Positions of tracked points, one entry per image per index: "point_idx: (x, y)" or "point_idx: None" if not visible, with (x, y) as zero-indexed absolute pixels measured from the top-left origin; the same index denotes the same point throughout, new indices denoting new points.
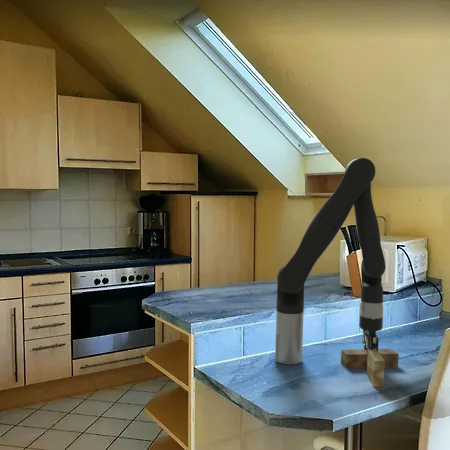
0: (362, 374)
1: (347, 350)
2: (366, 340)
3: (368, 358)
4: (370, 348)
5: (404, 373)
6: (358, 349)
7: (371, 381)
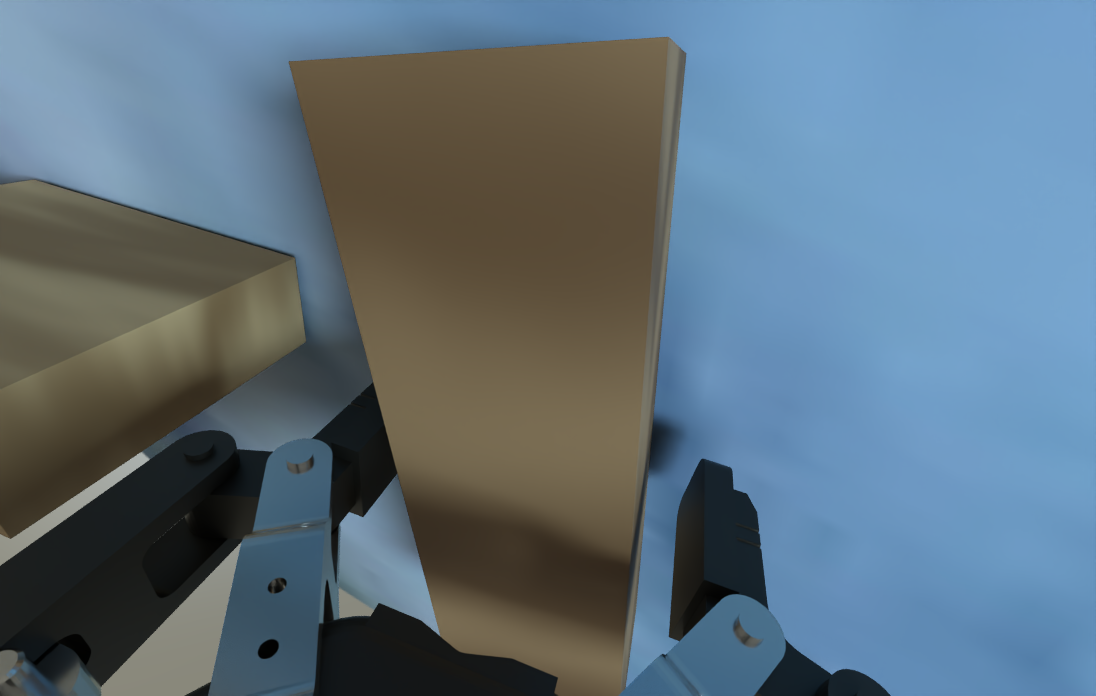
0: (312, 220)
1: (580, 205)
2: (225, 689)
3: (15, 329)
4: (85, 516)
5: (407, 548)
6: (634, 460)
7: (79, 203)
